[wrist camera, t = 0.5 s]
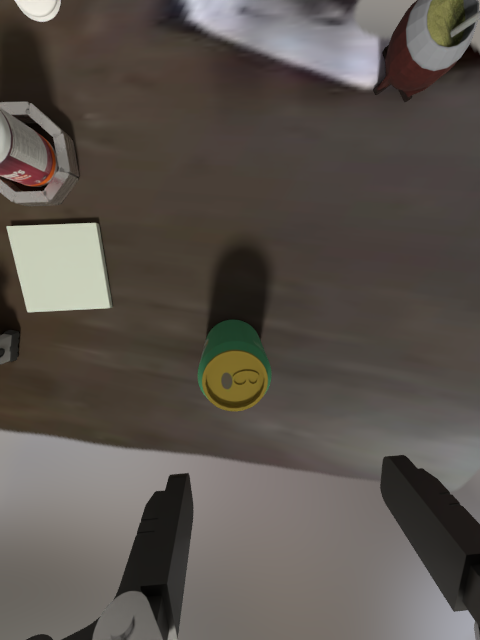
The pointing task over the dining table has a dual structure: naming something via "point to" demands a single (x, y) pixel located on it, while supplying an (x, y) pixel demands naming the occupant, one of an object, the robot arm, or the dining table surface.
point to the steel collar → (65, 157)
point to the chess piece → (39, 9)
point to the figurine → (9, 346)
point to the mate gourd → (428, 44)
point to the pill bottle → (25, 153)
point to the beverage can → (233, 366)
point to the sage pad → (61, 266)
